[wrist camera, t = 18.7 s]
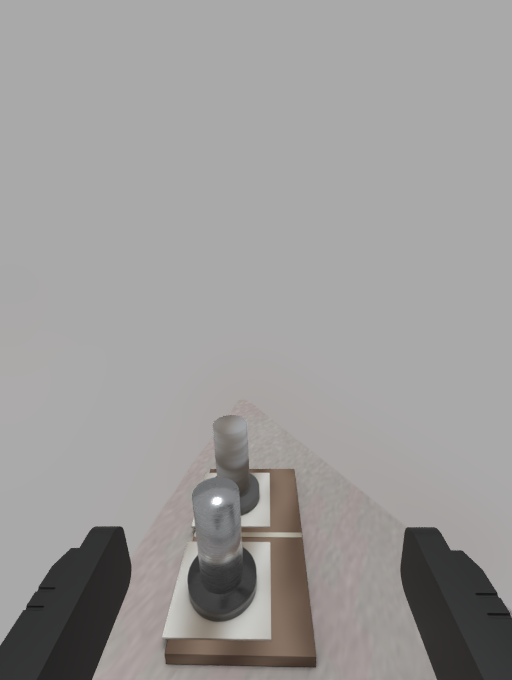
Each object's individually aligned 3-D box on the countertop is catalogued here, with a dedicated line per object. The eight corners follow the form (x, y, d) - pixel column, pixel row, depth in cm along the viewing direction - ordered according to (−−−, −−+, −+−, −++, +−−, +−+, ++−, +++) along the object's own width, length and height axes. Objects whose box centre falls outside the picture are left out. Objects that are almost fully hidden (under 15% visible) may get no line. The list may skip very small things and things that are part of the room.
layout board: (294, 476, 47) (294, 401, 44) (315, 667, 26) (319, 551, 23) (207, 476, 48) (201, 402, 44) (160, 663, 26) (140, 550, 23)
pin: (257, 553, 34) (254, 468, 31) (255, 622, 28) (251, 524, 25) (196, 553, 34) (187, 468, 31) (181, 621, 28) (168, 524, 25)
